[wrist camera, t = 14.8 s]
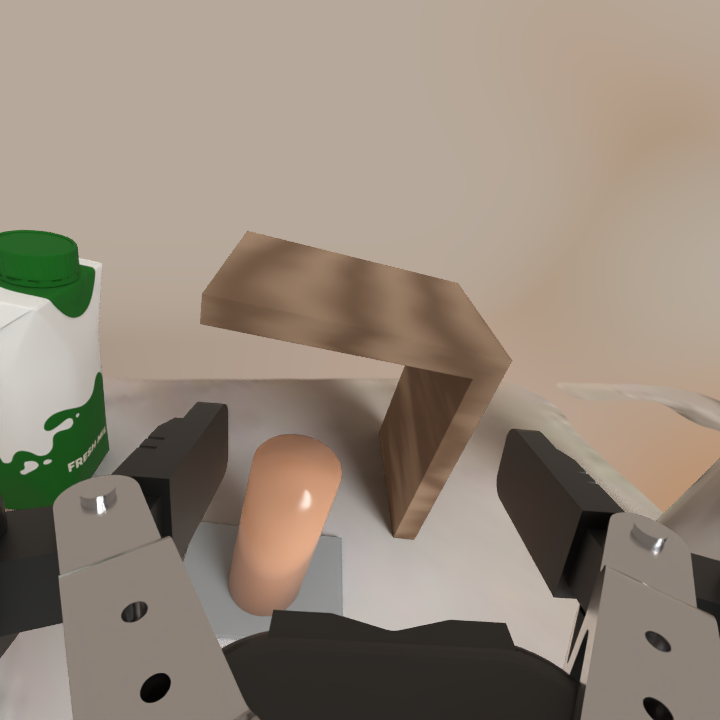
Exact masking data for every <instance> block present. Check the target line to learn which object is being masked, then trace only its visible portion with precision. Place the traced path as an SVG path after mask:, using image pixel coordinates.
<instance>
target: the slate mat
mask: <svg viewBox="0 0 720 720" xmlns="http://www.w3.org/2000/svg"><path fill="white" fill-rule="evenodd" d="M238 528H239V526H235V525H227V524H218V523H210V522H201V521H200V523H199V525H198V527H197V529H196V531H195V533H194V535H193V537H192V539H191V541H190V543H189V546H188V549H187V552H186V555H185V557H184V560H183V564H184V566H185V568H186V571H187V573H188V575H189V577H190V580H191V582H192V584H193V586H194V589H195V591H196V593H197V595H198V598H199V600H200V602H201V604H202V607H203V609H204V611H205V613H206V616H207V618H208V620H209V622H210V625H211V627H212V629H213V631H214V634H215V636H216V638H224V639H239V640H240V639H242V638H244V637H247V636H250V635H254V634H257V633H260V632H265V631H269V628H270V623H271V618H272V616H256V615H252V614H249V613H247V612H245V611H244V610H242V609H241V608H240V607H239V606H238V605H237V604H236V603H235V602H234V600H233V599H232V596H231V594H230V591H229V586H228V577H229V572H230V567H231V562H232V557H233V552H234V548H235V543H236V538H237V533H238ZM285 610H289V611H306V612H323V613H333V614H337V615H340V616H343V605H342V538H339V537H330V536H322V535H320V538H319V540H318V543H317V546H316V548H315V551H314V554H313V556H312V559H311V562H310V564H309V567H308V570H307V572H306V575H305V578H304V580H303V583H302V586H301V588H300V591H299V594H298V596H297V598H296V599H295V601H294V602H293V603H292V604H291V605H290V606H289V607H288V608H287V609H285Z"/></svg>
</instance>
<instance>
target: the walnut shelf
mask: <svg viewBox="0 0 720 720" xmlns="http://www.w3.org/2000/svg"><path fill="white" fill-rule="evenodd" d="M200 324H203V325H208V326H213V327H218V328H223V329H228V330H233V331H238V332H243V333H247V334H253V335H257V336H262V337H267V338H273V339H277V340H282V341H287V342H292V343H297V344H302V345H307V346H312V347H317V348H322V349H327V350H332V351H337V352H341V353H347V354H352V355H356V356H361V357H366V358H371V359H376V360H381V361H386V362H391V363H396V364H401V365H405V367H404V370H403V372H402V375H401V377H400V380H399V382H398V385H397V388H396V390H395V393H394V395H393V398H392V401H391V403H390V406H389V408H388V411H387V413H386V416H385V419H384V421H383V424H382V426H381V429H380V432H379V434H380V441H381V448H382V456H383V463H384V471H385V478H386V485H387V493H388V500H389V508H390V515H391V522H392V530H393V537H395V538H403V539H412V540H414V539H415V537H416V536H417V534H418V532H419V530H420V528H421V526H422V525H423V523H424V521H425V519H426V517H427V515H428V514H429V512H430V510H431V508H432V506H433V505H434V503H435V501H436V499H437V497H438V495H439V494H440V492H441V490H442V488H443V486H444V484H445V483H446V481H447V479H448V477H449V475H450V473H451V472H452V470H453V468H454V466H455V464H456V463H457V461H458V459H459V457H460V455H461V453H462V452H463V450H464V448H465V446H466V444H467V442H468V441H469V439H470V437H471V435H472V433H473V431H474V430H475V428H476V426H477V424H478V422H479V421H480V419H481V417H482V415H483V413H484V411H485V410H486V408H487V406H488V404H489V402H490V400H491V399H492V397H493V395H494V393H495V391H496V389H497V388H498V386H499V384H500V382H501V380H502V378H503V377H504V375H505V373H506V371H507V369H508V368H509V366H510V364H511V362H512V360H511V358H510V357H509V355H508V354H507V352H506V351H505V350H504V348H503V347H502V345H501V344H500V342H499V341H498V340H497V338H496V337H495V335H494V334H493V333H492V331H491V330H490V328H489V327H488V325H487V324H486V322H485V321H484V320H483V318H482V317H481V315H480V314H479V313H478V311H477V310H476V308H475V307H474V305H473V304H472V302H471V301H470V300H469V298H468V297H467V295H466V294H465V293H464V291H463V290H462V288H461V287H460V285H459V284H458V283H455V282H451V281H447V280H443V279H439V278H435V277H431V276H427V275H423V274H419V273H415V272H411V271H406V270H403V269H399V268H395V267H391V266H387V265H383V264H378V263H374V262H371V261H366V260H362V259H358V258H354V257H350V256H346V255H342V254H338V253H334V252H330V251H326V250H322V249H318V248H314V247H310V246H306V245H302V244H298V243H294V242H290V241H286V240H282V239H278V238H273V237H269V236H266V235H261V234H257V233H253V232H249V231H247V232H246V234H245V235H244V236H243V238H242V239H241V241H240V242H239V243H238V245H237V246H236V248H235V249H234V250H233V252H232V253H231V254H230V256H229V257H228V259H227V260H226V261H225V263H224V264H223V266H222V267H221V268H220V270H219V271H218V273H217V274H216V275H215V277H214V278H213V280H212V281H211V282H210V284H209V285H208V286H207V288H206V289H205V291H204V292H203V294H202V305H201V320H200Z"/></svg>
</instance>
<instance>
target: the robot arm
mask: <svg viewBox="0 0 720 720" xmlns="http://www.w3.org/2000/svg"><path fill="white" fill-rule="evenodd" d="M227 461H228V408H227V405H226V404H218V403H206V402H197V403H196V404H195V405H194V406H193V407H192V409H191V410H190V411H189V412H188V413H187V414H186V415H185V416H184V418H173V419H171V420H169V421H168V422H166V423H164V424H162V425H160V426H158V427H157V428H156V429H155V430H154V431H153V432H152V433H151V434H150V435H149V436H148V439H145V440H144V441H143V442H142V443H141V445H140V446H139V448H137V449H136V450H135V451H134V452H133V453H132V454H131V455H130V456H129V457H128V458H127V459H126V460H125V461H124V462H123V463H122V464H121V465H120V466H119V467H118V468H117V469H116V470H115V471H114V472H113V473H112V474H111V475H105V476H99V477H94V478H90V479H87V480H84V481H81V482H79V483H77V484H75V485H73V486H71V487H69V488H68V489H66V490H65V491H64V492H62V493H61V494H60V495H59V496H58V497H57V499H56V500H55V502H54V504H53V505H52V506H45V507H38V508H30V509H22V510H14V511H7V512H5V508H4V503H3V498H2V496H1V495H0V658H1V656H2V655H3V654H4V652H5V651H6V650H7V649H8V647H9V646H10V645H11V643H12V642H13V641H14V639H15V638H16V637H17V635H18V634H19V632H23V631H28V630H32V629H37V628H41V627H46V626H51V625H55V624H60V623H63V626H64V636H65V646H66V655H67V665H68V675H69V684H70V694H71V704H72V713H73V720H720V458H719V459H718V460H717V461H716V462H715V463H714V464H713V465H712V466H711V467H710V468H709V469H708V470H707V471H706V472H705V473H704V474H703V475H702V476H701V477H700V478H699V479H698V480H697V481H696V482H695V483H694V484H693V485H692V486H691V487H690V488H689V489H688V490H687V491H686V492H685V493H684V494H683V495H682V496H681V497H680V498H679V499H678V500H677V501H676V502H675V503H674V504H673V505H672V506H671V507H670V508H669V509H667V510H666V511H665V513H663V514H662V515H661V516H660V517H659V518H658V519H657V520H656V521H654V520H652V519H650V518H647V517H644V516H641V515H637V514H633V513H626V512H624V511H623V510H622V509H621V508H620V507H619V506H618V504H617V503H616V502H615V501H614V500H613V499H612V498H611V497H610V496H609V495H608V494H607V493H606V492H605V491H604V490H603V489H602V488H601V487H600V486H599V485H598V484H596V483H595V481H594V480H593V479H592V478H591V477H590V476H589V474H586V471H585V470H584V469H583V468H582V467H581V466H580V465H579V464H578V463H577V462H576V461H575V460H574V459H572V458H570V457H569V456H567V455H566V454H564V453H563V452H561V451H559V450H558V449H556V448H555V447H554V446H553V445H552V443H551V442H550V441H549V440H548V439H547V438H546V437H545V436H544V435H543V434H542V433H541V432H540V431H533V430H521V429H511V430H510V431H509V433H508V435H507V438H506V442H505V446H504V450H503V454H502V458H501V462H500V467H499V471H498V475H497V492H498V496H499V498H500V500H501V502H502V504H503V506H504V508H505V509H506V511H507V513H508V515H509V517H510V518H511V520H512V522H513V524H514V526H515V528H516V529H517V531H518V533H519V535H520V537H521V538H522V540H523V542H524V544H525V546H526V548H527V549H528V551H529V553H530V555H531V557H532V558H533V560H534V562H535V564H536V566H537V568H538V569H539V571H540V573H541V575H542V577H543V578H544V580H545V582H546V584H547V586H548V588H549V589H550V591H551V593H552V595H553V597H556V598H572V599H577V600H578V602H579V603H580V604H579V607H578V610H577V612H576V615H575V619H574V623H573V628H572V632H571V636H570V640H569V645H568V649H567V653H566V658H565V662H564V666H563V669H561V668H559V667H558V666H556V665H555V664H553V663H552V662H550V661H548V660H546V659H545V658H543V657H541V656H539V655H537V654H535V653H533V652H530V651H528V650H526V649H523V648H521V647H518V646H514V643H513V640H512V638H511V635H510V633H509V630H508V628H507V625H506V623H495V622H478V621H461V620H447V621H442V622H437V623H432V624H428V625H423V626H418V627H413V628H408V629H404V630H399V631H390V630H385V629H382V628H379V627H376V626H372V625H369V624H366V623H363V622H359V621H356V620H353V619H350V618H346V617H343V616H340V615H337V614H333V613H323V612H306V611H289V610H273V613H272V618H271V623H270V628H269V631H265V632H260V633H257V634H254V635H250V636H247V637H244V638H242V639H240V640H237V641H235V642H233V643H231V644H229V645H227V646H225V647H223V648H222V649H221V647H220V645H219V643H218V641H217V638H216V636H215V634H214V631H213V629H212V627H211V625H210V622H209V620H208V618H207V616H206V613H205V611H204V609H203V607H202V604H201V602H200V600H199V598H198V595H197V593H196V591H195V589H194V586H193V584H192V582H191V580H190V577H189V575H188V573H187V571H186V568H185V566H184V564H183V562H182V559H181V558H182V556H183V554H184V553H185V551H186V549H187V547H188V545H189V543H190V541H191V539H192V537H193V535H194V533H195V531H196V529H197V527H198V525H199V523H200V521H201V520H202V518H203V516H204V514H205V512H206V510H207V508H208V506H209V504H210V502H211V500H212V498H213V496H214V494H215V492H216V490H217V488H218V487H219V485H220V483H221V481H222V479H223V477H224V474H225V471H226V467H227Z"/></svg>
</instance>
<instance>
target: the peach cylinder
mask: <svg viewBox="0 0 720 720" xmlns="http://www.w3.org/2000/svg"><path fill="white" fill-rule="evenodd" d="M341 478H342V469H341V465H340V462H339V460H338V458H337V456H336V455H335V454H334V452H333V451H332V450H331V449H330V448H329V447H327V446H326V445H325V444H323V443H322V442H320V441H318V440H316V439H314V438H311V437H308V436H304V435H297V434H285V435H279V436H276V437H273V438H271V439H269V440H267V441H265V442H264V443H263V444H261V445H260V447H259V448H258V449H257V450H256V452H255V454H254V457H253V461H252V466H251V471H250V476H249V480H248V485H247V490H246V495H245V500H244V504H243V509H242V514H241V519H240V524H239V528H238V533H237V538H236V543H235V548H234V552H233V557H232V562H231V567H230V572H229V577H228V586H229V591H230V594H231V596H232V599H233V600H234V602H235V603H236V604H237V605H238V606H239V607H240V608H241V609H242V610H244V611H245V612H247V613H249V614H252V615H256V616H272V613H273V610H285V609H287V608H288V607H289V606H290V605H291V604H292V603H293V602H294V601H295V599H296V598H297V596H298V594H299V591H300V588H301V586H302V583H303V580H304V578H305V575H306V572H307V570H308V567H309V564H310V562H311V559H312V556H313V554H314V551H315V548H316V546H317V543H318V540H319V538H320V535H321V532H322V530H323V527H324V524H325V522H326V519H327V516H328V514H329V511H330V508H331V506H332V503H333V500H334V498H335V495H336V492H337V490H338V487H339V484H340V482H341Z"/></svg>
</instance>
